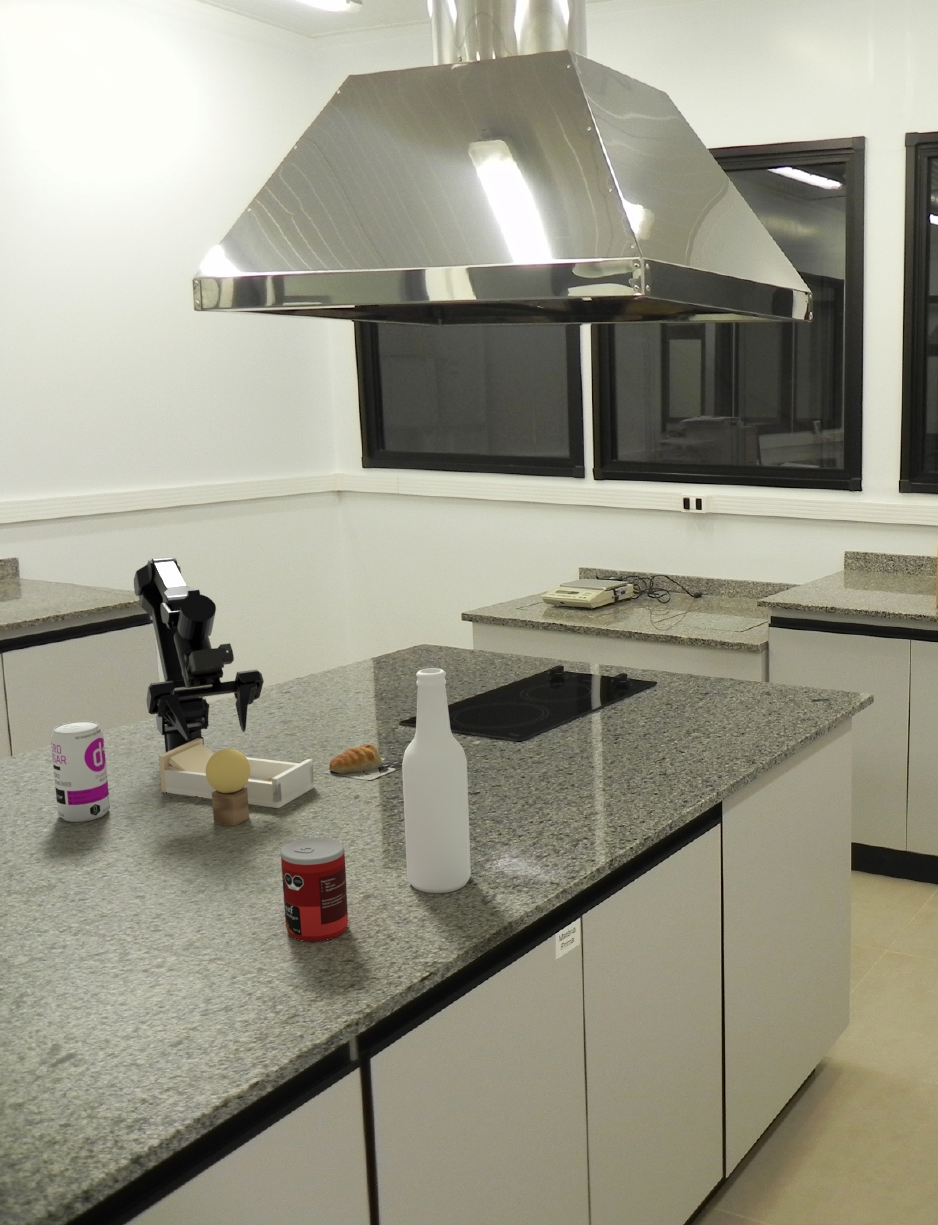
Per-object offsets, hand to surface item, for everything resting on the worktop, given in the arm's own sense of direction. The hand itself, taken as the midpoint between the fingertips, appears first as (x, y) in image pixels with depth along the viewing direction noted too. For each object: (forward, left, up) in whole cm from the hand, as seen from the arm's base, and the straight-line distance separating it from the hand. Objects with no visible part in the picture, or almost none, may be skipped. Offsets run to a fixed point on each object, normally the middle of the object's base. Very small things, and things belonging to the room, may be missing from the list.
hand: (216, 734), depth 199 cm
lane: (-3, +9, -13) cm, 16 cm away
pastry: (+10, +27, -13) cm, 32 cm away
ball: (+5, -4, -4) cm, 8 cm away
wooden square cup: (+5, -4, -13) cm, 14 cm away
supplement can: (-20, -10, -13) cm, 26 cm away
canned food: (+39, -33, -13) cm, 53 cm away
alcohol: (+47, -14, -13) cm, 51 cm away
